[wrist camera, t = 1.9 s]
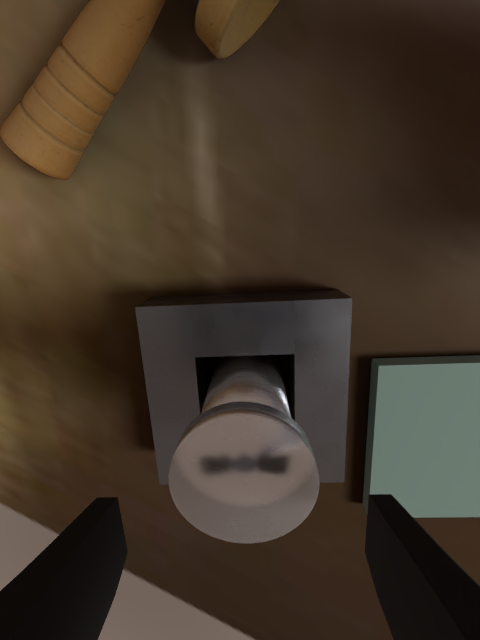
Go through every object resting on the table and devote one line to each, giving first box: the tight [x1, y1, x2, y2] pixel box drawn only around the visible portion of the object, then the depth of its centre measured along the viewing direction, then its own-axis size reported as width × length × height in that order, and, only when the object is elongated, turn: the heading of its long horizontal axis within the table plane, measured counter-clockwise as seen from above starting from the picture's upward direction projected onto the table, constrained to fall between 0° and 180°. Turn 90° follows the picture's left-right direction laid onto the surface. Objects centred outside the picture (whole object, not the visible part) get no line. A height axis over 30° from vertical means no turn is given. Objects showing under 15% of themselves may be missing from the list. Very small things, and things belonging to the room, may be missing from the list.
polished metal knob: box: [169, 355, 320, 543], centre depth 14 cm, size 5×5×8 cm
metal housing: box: [135, 289, 352, 484], centre depth 17 cm, size 10×10×2 cm
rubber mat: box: [363, 355, 480, 517], centre depth 18 cm, size 10×10×1 cm
